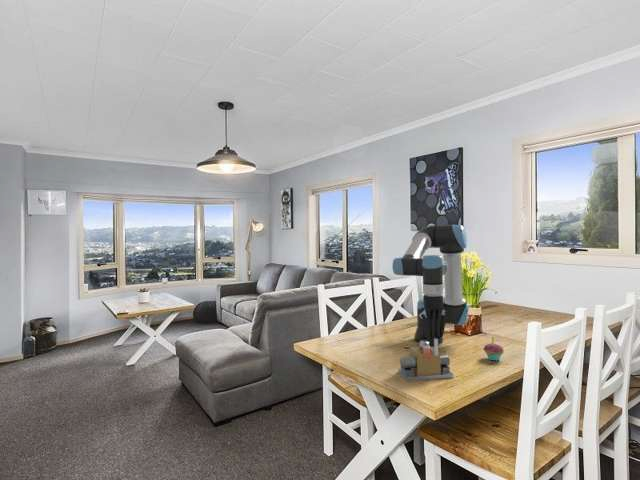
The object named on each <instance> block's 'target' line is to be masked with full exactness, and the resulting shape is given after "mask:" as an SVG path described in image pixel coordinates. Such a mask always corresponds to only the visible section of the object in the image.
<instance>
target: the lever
mask: <svg viewBox="0 0 640 480" xmlns="http://www.w3.org/2000/svg"><path fill="white" fill-rule="evenodd" d="M419 347H420V350H423V356H424V359H432V353H431V350H430V346H429V341H420V343H419Z"/></svg>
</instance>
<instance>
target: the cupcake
mask: <svg viewBox="0 0 640 480" xmlns="http://www.w3.org/2000/svg"><path fill="white" fill-rule="evenodd" d="M494 341H495V340H494V334H492V335H491V343H488V344H485V345H484V346H483V352H484V353H485V354H486V356H487V359H488V360H489V361H491V360H494V361H493V362H498V361H497V360H499V361H500V359H501V357H502V354H504V353H505V352H504V349H503V346H500V345H499V344H497V343H495V342H494ZM495 360H496V361H495Z"/></svg>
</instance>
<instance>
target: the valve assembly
mask: <svg viewBox="0 0 640 480" xmlns="http://www.w3.org/2000/svg"><path fill="white" fill-rule="evenodd" d="M430 350H431V347H430ZM450 360H451V359H450V357H449V355H448V354H441V351H439V350H438V356H434V355H432V359H424V356H423V350H420V346H414V347H413V346H412V347H409V356H408V357H407V356H406V357H400V359H399V364H400V367H398V368H397V373H398V374H399V375H400V376H401V378H403V379H404V380H405V382H412V381H427V380H429V381H430V380H438V379H439V380H442V379H453V378H454V373H452V372H451V370H450V365H451V364H450V363H451V361H450Z"/></svg>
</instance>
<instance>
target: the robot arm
mask: <svg viewBox="0 0 640 480" xmlns="http://www.w3.org/2000/svg"><path fill="white" fill-rule="evenodd" d="M467 241H468V239H467V232H466V230H465V227H464V226H463V225H461V224H440V225H439V224H438V225H434V224H432V225H428V226H426V227H423V228H421V229H419V230H418V231H417V232H416V233H415V234H414V235H413V236H412V239H411V244H410V245H409V246H408V248H407V250H406V251H405V253H404V254H403V255H402V257H396V258H393V260H392V265H391V266H392V272H393V274H394V275H396V276H406V277H407V276H409V277H410V276H411V277H412V276H413V277H422V294H423V296H422V299H421V298H420V299H419V300H418V301H417V303H416V304H417V305H416V309H417V310H416V312H417V313H416V315H417V317H416V319H417V322H416V323H417V327H416V328H415V332H414V339H413V340H414V341H415V342H416V343H419V344H420V341H429V346H430V347H431V353H432V355H434V356H438V351H439V346H440V344H442V343H444V342H443V341H444V335H445V329H446V324H448V325H456V326H465V325H466V324H467V323H468V317H469V310H470V309H469V308H470V303H468V302H467V299H466V298H465V297H464V296H463V276H462V275H463V273H462V253H464V251H465V249H466V248H467V247H468V242H467ZM430 248H431V249H434V248H435V249H439V253H441V254H442V255H440V254H432V255H431V254H428V255H426V254H425V253H426V251H427V250H429V249H430ZM424 254H425V255H424ZM443 283H444V284H443ZM443 294H445V295H443Z"/></svg>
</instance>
